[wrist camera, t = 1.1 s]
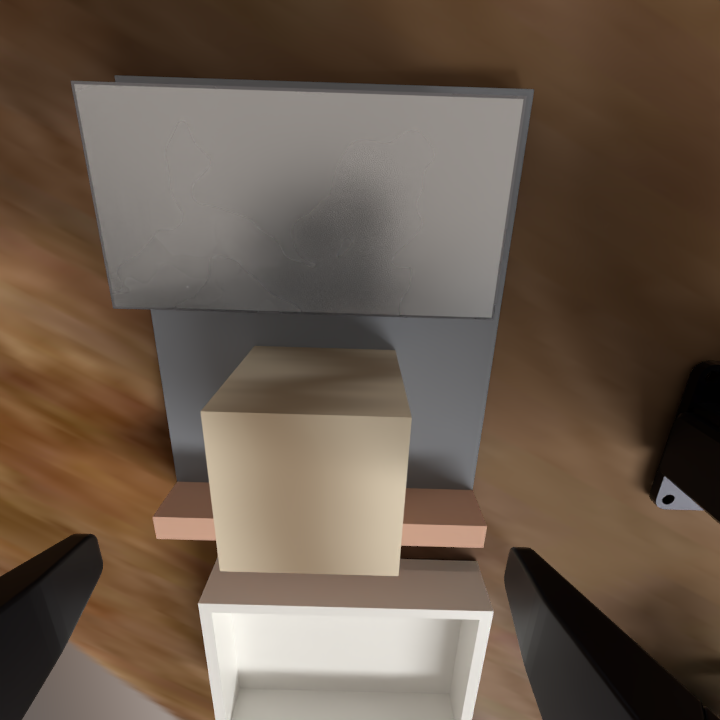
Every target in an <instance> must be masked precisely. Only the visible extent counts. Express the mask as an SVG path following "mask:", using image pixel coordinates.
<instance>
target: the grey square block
mask: <svg viewBox="0 0 720 720" xmlns="http://www.w3.org/2000/svg"><path fill="white" fill-rule="evenodd" d="M71 85H72V91H73V96H74V101H75V107H76V112H77V117H78V123H79V128H80V133H81V139H82V144H83V149H84V155H85V160H86V165H87V171H88V176H89V182H90V187H91V192H92V198H93V203H94V208H95V214H96V219H97V224H98V230H99V235H100V240H101V246H102V251H103V256H104V262H105V267H106V272H107V278H108V283H109V288H110V294H111V299H112V305H113V308H116V309H149V310H182V311H215V312H247V313H280V314H313V315H346V316H378V317H411V318H444V319H477V320H493V319H494V313H495V306H496V299H497V293H498V286H499V279H500V272H501V266H502V259H503V252H504V246H505V239H506V232H507V226H508V219H509V212H510V205H511V199H512V192H513V185H514V179H515V172H516V165H517V159H518V152H519V145H520V138H521V132H522V125H523V118H524V112H525V105H526V98H527V96H515V95H484V94H454V93H424V92H394V91H364V90H334V89H304V88H274V87H243V86H213V85H183V84H153V83H123V82H93V81H71Z"/></svg>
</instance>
